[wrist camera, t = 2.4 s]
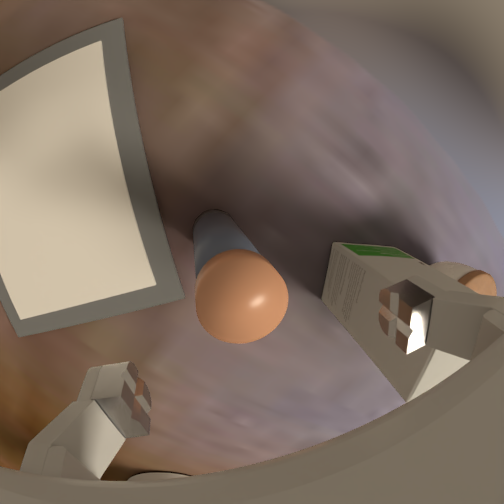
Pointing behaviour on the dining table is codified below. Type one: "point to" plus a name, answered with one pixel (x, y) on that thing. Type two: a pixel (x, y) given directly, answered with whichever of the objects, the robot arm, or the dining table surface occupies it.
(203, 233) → the marker
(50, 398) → the dining table surface
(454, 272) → the lidded bowl
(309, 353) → the dining table surface
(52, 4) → the dining table surface
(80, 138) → the mat
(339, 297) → the skincare box
